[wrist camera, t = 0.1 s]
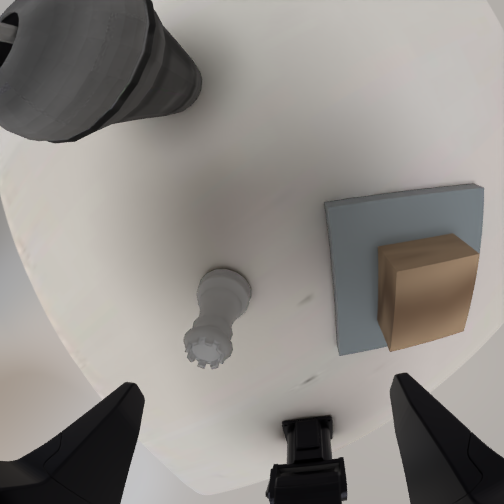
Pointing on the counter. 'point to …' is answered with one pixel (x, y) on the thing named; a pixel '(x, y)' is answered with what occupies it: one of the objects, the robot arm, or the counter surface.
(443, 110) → the counter surface
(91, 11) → the beverage cup
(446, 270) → the base brick
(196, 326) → the rook chess piece
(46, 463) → the robot arm
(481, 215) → the build plate
